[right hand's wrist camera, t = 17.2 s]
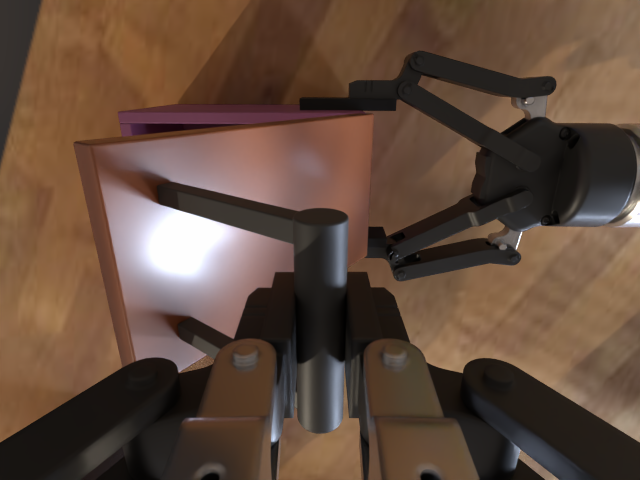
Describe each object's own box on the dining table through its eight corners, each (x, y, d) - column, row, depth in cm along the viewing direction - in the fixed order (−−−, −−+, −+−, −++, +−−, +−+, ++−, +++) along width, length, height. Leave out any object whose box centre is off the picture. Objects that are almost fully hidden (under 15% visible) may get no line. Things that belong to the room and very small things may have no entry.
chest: (188, 207, 38) (141, 248, 28) (175, 104, 35) (117, 111, 25) (352, 208, 38) (359, 250, 28) (355, 104, 34) (365, 112, 25)
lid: (125, 384, 16) (291, 518, 11) (71, 141, 12) (279, 178, 7) (353, 252, 28) (478, 287, 23) (358, 113, 24) (505, 120, 20)
